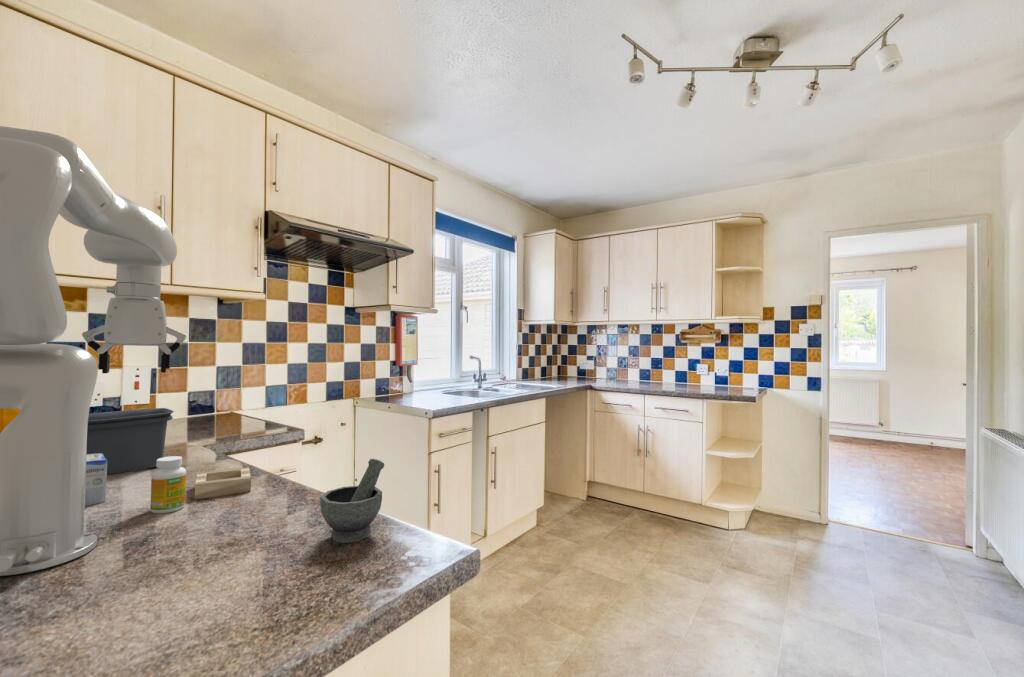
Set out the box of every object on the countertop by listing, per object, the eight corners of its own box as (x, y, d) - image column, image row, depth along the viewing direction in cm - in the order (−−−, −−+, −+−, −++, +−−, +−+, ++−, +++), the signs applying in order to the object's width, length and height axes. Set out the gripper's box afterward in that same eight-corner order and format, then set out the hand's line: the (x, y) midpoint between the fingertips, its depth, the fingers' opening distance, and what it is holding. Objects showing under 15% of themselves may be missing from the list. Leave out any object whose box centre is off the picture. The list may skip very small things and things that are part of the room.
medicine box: (72, 498, 93) (73, 455, 93) (101, 493, 96) (103, 452, 96) (75, 507, 87) (76, 462, 88) (106, 502, 91) (107, 458, 91)
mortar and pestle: (341, 553, 70) (343, 474, 70) (308, 537, 75) (309, 465, 75) (398, 529, 79) (400, 460, 79) (365, 517, 84) (366, 453, 85)
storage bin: (60, 486, 101) (62, 421, 101) (51, 473, 110) (53, 414, 111) (176, 467, 117) (177, 411, 117) (159, 457, 127) (161, 406, 127)
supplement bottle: (166, 515, 84) (167, 462, 84) (142, 512, 85) (144, 460, 85) (192, 505, 89) (193, 456, 90) (169, 503, 91) (171, 454, 91)
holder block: (250, 491, 98) (251, 477, 98) (194, 499, 93) (194, 484, 93) (248, 479, 107) (249, 467, 107) (197, 486, 101) (197, 472, 101)
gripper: (80, 288, 90) (76, 374, 90) (186, 295, 100) (184, 372, 99) (88, 292, 96) (84, 372, 96) (188, 298, 106) (185, 371, 105)
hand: (135, 372), depth 97 cm, fingers open, 9 cm apart
